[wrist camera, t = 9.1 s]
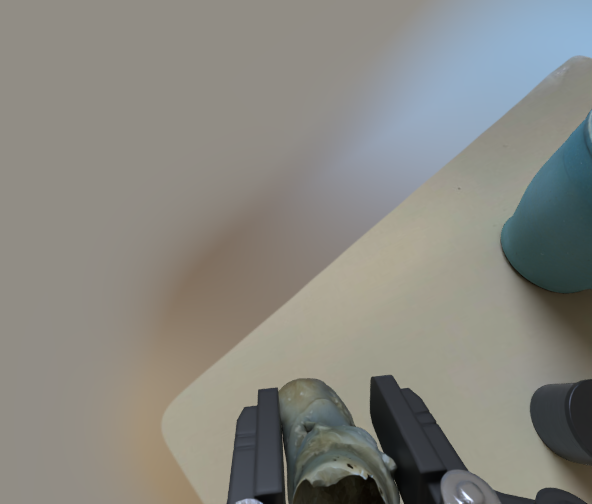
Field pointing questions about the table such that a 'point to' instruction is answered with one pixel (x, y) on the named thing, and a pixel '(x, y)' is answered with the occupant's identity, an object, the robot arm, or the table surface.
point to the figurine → (330, 450)
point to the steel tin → (565, 419)
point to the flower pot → (556, 219)
